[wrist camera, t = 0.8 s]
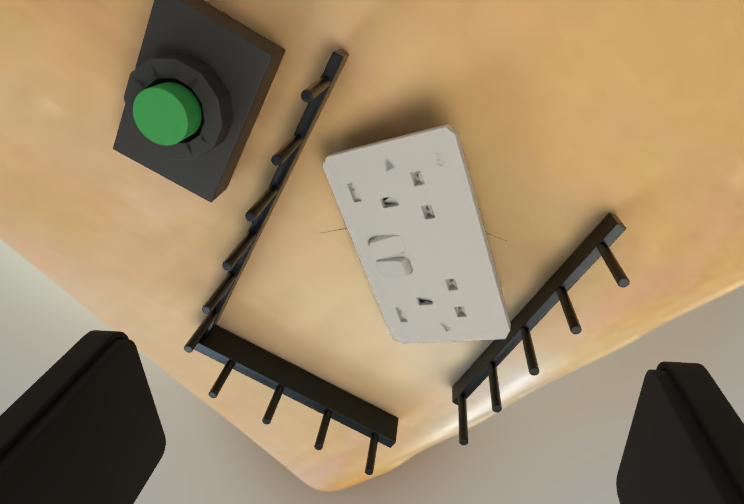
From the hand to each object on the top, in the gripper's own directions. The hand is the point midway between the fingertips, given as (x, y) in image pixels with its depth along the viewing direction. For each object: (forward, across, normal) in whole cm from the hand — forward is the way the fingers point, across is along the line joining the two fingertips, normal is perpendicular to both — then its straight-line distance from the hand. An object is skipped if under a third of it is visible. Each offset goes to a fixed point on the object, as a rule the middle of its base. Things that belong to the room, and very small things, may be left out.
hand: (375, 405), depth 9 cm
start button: (+24, +16, 0) cm, 29 cm away
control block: (+29, +16, 0) cm, 33 cm away
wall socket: (+29, +1, +11) cm, 31 cm away
